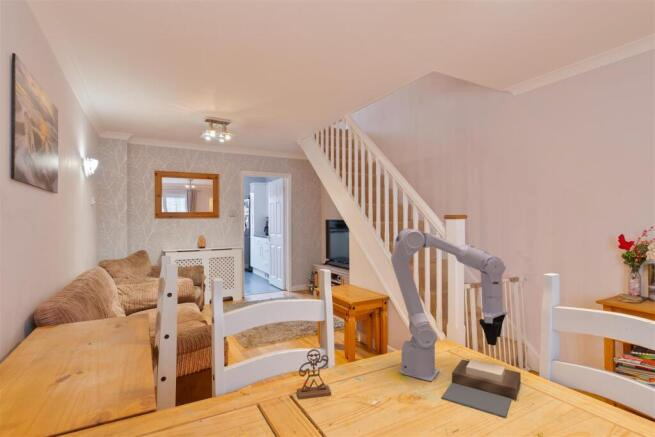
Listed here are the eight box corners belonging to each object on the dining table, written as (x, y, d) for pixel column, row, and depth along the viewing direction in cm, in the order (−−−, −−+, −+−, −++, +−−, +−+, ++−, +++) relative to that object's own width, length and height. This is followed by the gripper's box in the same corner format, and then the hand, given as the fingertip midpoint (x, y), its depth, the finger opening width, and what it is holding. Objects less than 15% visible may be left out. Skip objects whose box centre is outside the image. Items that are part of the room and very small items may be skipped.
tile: (466, 373, 95) (466, 366, 95) (471, 366, 100) (471, 359, 100) (501, 382, 90) (501, 375, 90) (504, 374, 95) (504, 367, 95)
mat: (441, 398, 88) (441, 397, 88) (451, 383, 96) (451, 382, 96) (505, 418, 79) (505, 416, 79) (511, 400, 87) (511, 398, 87)
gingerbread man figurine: (298, 399, 88) (298, 353, 88) (296, 392, 92) (296, 348, 92) (331, 395, 90) (331, 350, 90) (328, 388, 94) (328, 345, 94)
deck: (452, 383, 96) (452, 372, 96) (461, 368, 105) (461, 359, 105) (515, 400, 87) (515, 388, 87) (520, 383, 96) (520, 372, 96)
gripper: (503, 302, 93) (505, 351, 93) (510, 291, 105) (512, 335, 105) (475, 299, 97) (478, 346, 97) (485, 289, 109) (487, 331, 109)
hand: (494, 340), depth 101 cm, fingers open, 7 cm apart
